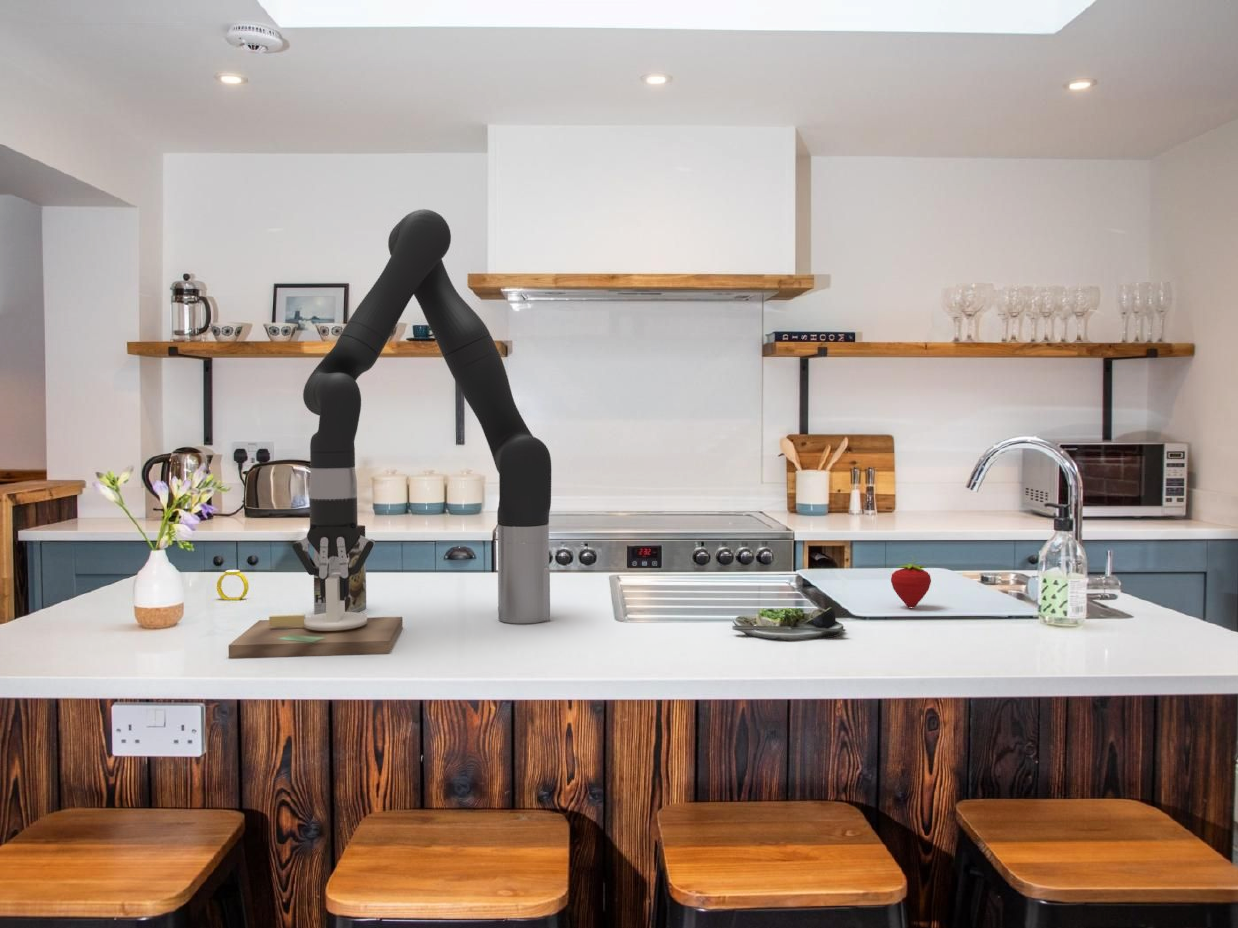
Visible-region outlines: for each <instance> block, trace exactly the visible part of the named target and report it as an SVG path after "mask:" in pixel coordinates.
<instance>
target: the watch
mask: <svg viewBox="0 0 1238 928" xmlns="http://www.w3.org/2000/svg"><path fill="white" fill-rule="evenodd" d="M226 576H237V577H239V578H240V580H241V581H242V583H243V591H242V594H241V595H240V596H238V597H229V596H227V595H226V594H225V593H224V591H223V589H222V582H223V580H224V578H225V577H226ZM248 591H249V581H248V579H247V577H246V575H244V574H243V573H242V572H241V570H240V569H228V570H225V571H224V573H223V574H221V575H220V576H219V578H218V580H217V582H216V592H217V593H218V595H219V597H220V598H222V600H224V601H240V600H242V599H243V598H245V597H246V595H247V594H248Z"/></svg>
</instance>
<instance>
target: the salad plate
mask: <svg viewBox="0 0 1238 928" xmlns="http://www.w3.org/2000/svg"><path fill="white" fill-rule="evenodd" d="M836 619H837V618H836V612H835V610H834V607H832V606H830V607H828V608H827V609H825V610H823V609H820V608H818V609H815V610H813V611H812V612H811V611H805V610H803V609H802V608H798V607H795V608H791V607H783V608H778V609H774V608H767V609H766V608H761V609H760V610H759V611H758V613H755V614H754V613H753V614H742V615H738V616H736V617H735V618H734V620H733V621H732V623H733V624H734V625H733V626H732V630H733V631H737V632H743V633H745V634H747V635H748V636H751V637H755V638H763V639H767V640H780V641H799V640H814V639H825V638H826V639H827V638H833V637H836V636H839V635H840V634H841V633H842V632H845V631H846V629H844V625H843V623H840V622H839V621H837V620H836Z"/></svg>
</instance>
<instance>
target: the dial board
mask: <svg viewBox="0 0 1238 928" xmlns="http://www.w3.org/2000/svg"><path fill="white" fill-rule="evenodd" d="M403 619H404V618H403V616H380V617H379V616H377V617H376V616H375V617H371V616H370V617H367V624H365V625H363V626H361V627H357V628H352V629H346V630H335V631H318V630H310V629H307V628H305V627H304V626H269V619H259V620H258V621H257V622H255V623H254V624H253V625H252V626H250V627H249V628H248V629H246V630H245V631H244V632H243V633H241V635H239V636H238V637H237V638H235V639H234V640H233V641H232V642H231V643H229V644H228V658H229V659H239V658H240V659H242V658H244V659H246V658H251V659H252V658H273V657H274V658H277V657H278V658H279V657H280V658H281V657H286V658H287V657H311V656H312V657H316V656H318V657H320V656H346V655H347V656H348V655H349V656H352V655H375V654H376V655H379V654H380V655H381V654H382V655H383V654H384V655H385V654H386V655H387V654H390V652H392V649H393V647H394V646H395V643H396V642H397V640H398V638H399V636H400V634H401V632H402V630H403Z"/></svg>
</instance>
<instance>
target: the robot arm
mask: <svg viewBox="0 0 1238 928" xmlns="http://www.w3.org/2000/svg"><path fill="white" fill-rule="evenodd" d="M451 242H452V234H451V229H450V226H449V225H448V222H447V221H446V219H445V217H443V216H442V215H441V214H439V213H437V212H436V211H434V210H430V209H424V208H422V209H416V210H414V211H412V212H410V213H407V214H406V215H404V217H403V218H402V219H401V220H400V221H399V222H398V223H397V224H396V225H395V226H394V227H393V228H392V230H391V231H390V233H389V236H388V241H387V243H388V245H387V247H388V252H389V255H390V257H389V259H388V262H387V263H386V265H385V267H384V269H383V270H382V272H381V274H380V275H379V277H378V278H377V280H376V282H374V284H373V285H372V287H371V288H370V290H369V291H368V292H367V294H366V295H365V296H364V298H363V299H362V300H361V302H359V305H358V306H357V308H356V309H355V311H354V312H353V313H352V315H351V316H350V318H349V319H348V322H347V323H346V325H345V326H344V328H343V330H342V331H341V333H340V335H339V337H338V339H337V340H336V343H335V344H334V346H333V347H332V349H331V350H329V352H328V353H327V354H326V355H325V357H324V358H323V359H321V360H320V362H319V364H317V366H316V367H315V369H314V370H313V371H312V372H311V374H310V375H309V377H308V379H307V380H306V383H304V384H305V385H304V388H303V390H302V391H303V394H302V397H303V403H304V405H305V407H306V408H307V409H308V410H309V412H311V413H312V414H314V415H316V416H319V420H318V430H317V431H316V432H315V433H314V434H312V436H311V438H310V443H309V445H310V446H309V451H310V452H309V453H310V454H309V455H310V456H309V457H310V461H309V462H310V472H309V479H308V480H309V482H308V483H309V484H308V485H309V487H308V495H309V496H308V497H309V499H308V500H309V529H308V531H307V534H306V537H304V538H302V539H300V540H297V541H295V542H294V543H293V544H292V549H293V551H294V553H295V554H296V556H297V558H298V559H299V561H300V562H301V564H302V566H303V567H304V568H305V571H306V572H307V574H308V575H310V576H314V575H315V576H317V577H319V579H320V595H321V598H324V600H325V601H326V586H325V580H326V579H327V578H328V577H329V563H330V557H332V556H335V557H339V564H340V572H341V578H340V601H345V600H346V597H348V596H349V594H350V576H351V575H354V574H357V573H359V571H360V570H361V568H362V566H363V565H364V563H365V561H366V562H367V560H368V557H369V556H370V554H371V553H372V551H373V549H374V547H375V546H376V545H375V544H376V541H375V540H374V539H372V538H371V539H369V538H367V537H366V536H365V537H363V536H361V532H360V530H359V528H358V525H359V524H358V522H359V521H358V483H357V482H358V480H357V473H356V452H355V451H356V448H355V439H356V436H357V432H358V428H359V421H360V415H361V410H362V395H361V390H360V386H359V385H358V383H357V380H358V378H359V377H360V376H361V375H362V374H364V373H365V372H367V371H369V370H370V369H372V368H373V367H374V365H375V364H376V362H377V360H378V359H379V357H380V355H381V353H382V352H383V350H384V348H385V346H386V345H387V343H388V341H389V339H390V337H391V336H392V333H393V331H394V329H395V328H396V326H397V324H398V322H399V320H400V319H401V317H402V315H403V313H404V311H405V309H406V308H407V306H408V304H409V303H410V300H411V299H412V297H413V296H414V297H415V299H416V302H418V305H419V306H420V309H421V311H422V313H423V315H424V317H425V320H426V322H427V325H428V326H429V328H430V329H429V330H430V331H431V333H432V334H433V337H434V339H435V342H436V344H437V345H438V348H439V351H440V353H441V355H442V357H443V359H444V361H445V363H446V365H447V368H448V369H449V372H450V373H451V375H452V377H453V379H454V380H455V383H456V385H457V386H458V388H459V390H460V392H461V394H462V395H463V397H464V399H465V400H466V402H467V404H468V406H469V407H470V408H471V410H472V412H473V413H474V415H475V416H476V418H477V420H478V423H479V424H480V427H481V428H482V431H483V434H484V437H485V439H486V443H487V444H488V447H489V451H490V453H491V456H492V459H493V462H494V465H495V469H496V471H497V472H498V474H499V475H498V476H499V477H498V478H499V480H498V481H499V483H498V484H499V487H498V488H499V489H498V491H499V496H498V497H499V498H498V507H497V512H496V513H497V515H496V516H497V520H496V522H497V598H498V599H497V610H498V612H497V614H498V615H497V616H498V617H497V618H498V620H499V621H500V622H504V623H508V624H534V623H541V622H550V621H551V594H550V593H551V577H550V576H551V572H550V571H551V568H550V525H549V523H550V511H551V506H552V459H551V454H550V451H549V449H548V447H547V445H546V444H545V442H543V441H542V440H540V439H539V438H537V437H535V436H534V435H533V434H532V432H531V431H530V429H529V428H528V426H527V424H526V422H525V421H524V419H523V417H522V415H521V413H520V411H519V409H518V407H517V405H516V402H515V399H514V396H513V394H512V389H511V386H510V385H511V384H510V382H509V378H508V377H509V376H508V374H507V371H506V367H505V365H504V362H503V359H502V355H501V354H500V351H499V349H498V347H497V345H496V344H495V341H494V339H493V337H492V334H491V333H490V331H489V329H488V327H487V325H486V324H485V322H484V321H483V320H482V318H480V316H479V315H478V314H477V313H476V311H474V309H473V308H472V307H471V306H470V305H469V304H468V303H467V302H466V301H465V300H464V299H463V297H462V296H461V295H460V294H459V292H458V291H457V290H456V288H455V286H454V284H453V282H452V281H451V279H450V277H449V274H448V271H447V269H446V267H445V265H444V262H443V258H444V257H445V256H446V254H447V253H448V251H449V249H450V245H451ZM358 541H359V542H360V546H359V549H360V550H361V551H362V552H361V554H360V556H359V558H358V559H357V561H356V563H355V565H354V566H352V567H350V565H349V553H350V551H351V550H352V549H353V547H354V546H355V544H356V543H357V542H358ZM309 544H310V545H311V546H312V547H314V548H315V550H316V551H317V552H318V554H319V555H320V561H319V564H320V568H319V567H317V566H316V565H315V563H314V559H313V558H312V557H311V555H310V553H309V550H310V545H309ZM314 548H313V549H314Z"/></svg>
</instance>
